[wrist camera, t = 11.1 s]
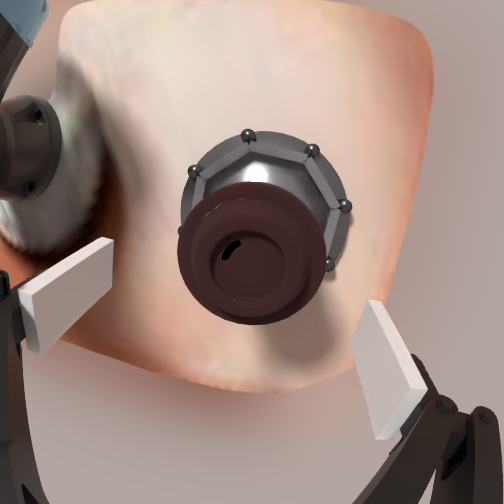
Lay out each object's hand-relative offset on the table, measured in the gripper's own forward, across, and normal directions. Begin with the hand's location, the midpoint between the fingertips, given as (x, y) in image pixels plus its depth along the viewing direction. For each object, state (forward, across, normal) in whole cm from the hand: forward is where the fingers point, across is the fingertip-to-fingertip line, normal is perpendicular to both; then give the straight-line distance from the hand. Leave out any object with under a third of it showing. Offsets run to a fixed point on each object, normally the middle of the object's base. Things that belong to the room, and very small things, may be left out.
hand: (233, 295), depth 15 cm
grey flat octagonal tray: (+20, +1, 0) cm, 20 cm away
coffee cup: (+19, 0, 0) cm, 19 cm away
